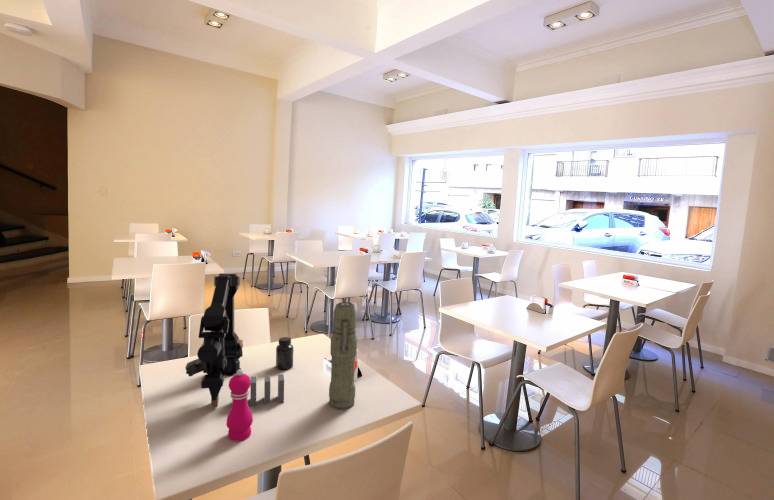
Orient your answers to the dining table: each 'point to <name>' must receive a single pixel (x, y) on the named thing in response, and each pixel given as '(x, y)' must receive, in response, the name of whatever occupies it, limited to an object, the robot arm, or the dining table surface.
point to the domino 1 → (214, 402)
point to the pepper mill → (239, 408)
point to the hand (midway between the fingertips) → (215, 396)
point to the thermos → (343, 356)
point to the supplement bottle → (284, 354)
